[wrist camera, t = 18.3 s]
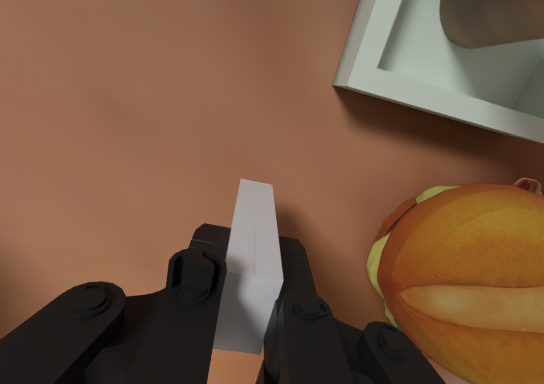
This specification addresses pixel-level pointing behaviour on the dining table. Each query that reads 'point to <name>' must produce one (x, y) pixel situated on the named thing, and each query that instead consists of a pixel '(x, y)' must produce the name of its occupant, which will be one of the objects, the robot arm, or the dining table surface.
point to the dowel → (491, 21)
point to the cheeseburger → (468, 278)
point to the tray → (443, 69)
